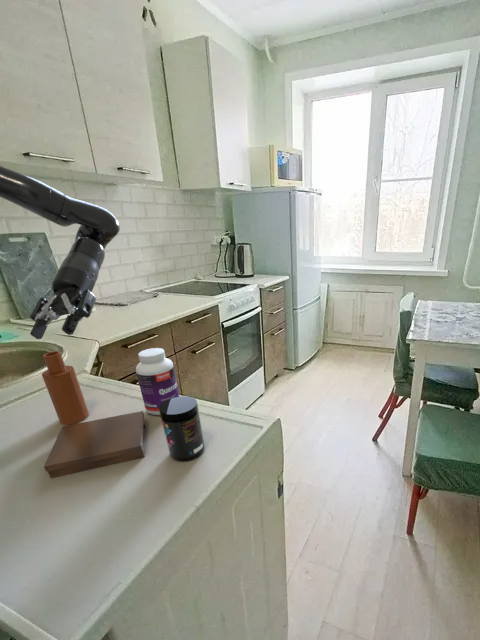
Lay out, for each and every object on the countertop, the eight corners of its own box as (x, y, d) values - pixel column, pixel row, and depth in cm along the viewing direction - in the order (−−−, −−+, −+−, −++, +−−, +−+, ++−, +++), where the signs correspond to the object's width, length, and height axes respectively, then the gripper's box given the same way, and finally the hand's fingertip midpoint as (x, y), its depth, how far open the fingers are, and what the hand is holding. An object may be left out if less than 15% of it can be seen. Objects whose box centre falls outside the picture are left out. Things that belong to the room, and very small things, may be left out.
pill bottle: (167, 419, 80) (153, 360, 73) (138, 414, 82) (123, 357, 76) (188, 402, 87) (177, 347, 80) (161, 398, 89) (148, 344, 83)
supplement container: (184, 438, 72) (175, 394, 68) (212, 445, 70) (204, 399, 65) (162, 458, 67) (150, 411, 62) (191, 466, 64) (181, 417, 60)
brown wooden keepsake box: (49, 479, 63) (43, 466, 61) (66, 438, 75) (61, 426, 73) (144, 458, 67) (140, 445, 66) (146, 422, 79) (143, 410, 78)
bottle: (57, 427, 79) (31, 360, 72) (63, 414, 84) (39, 351, 77) (86, 421, 81) (64, 356, 74) (90, 409, 86) (70, 347, 79)
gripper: (39, 270, 80) (9, 328, 73) (89, 260, 77) (62, 319, 69) (66, 292, 87) (40, 348, 79) (113, 284, 83) (91, 341, 75)
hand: (50, 334), depth 74 cm, fingers open, 8 cm apart
